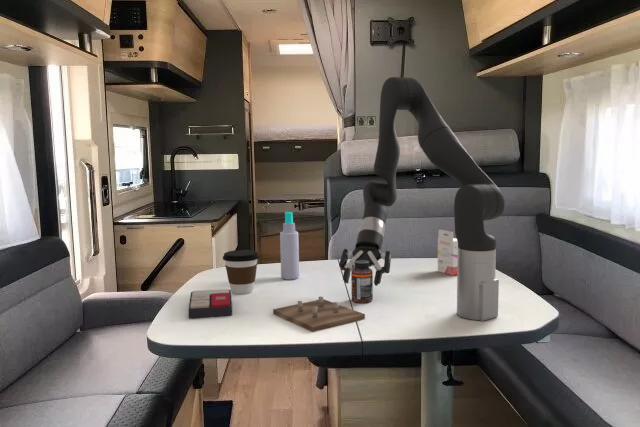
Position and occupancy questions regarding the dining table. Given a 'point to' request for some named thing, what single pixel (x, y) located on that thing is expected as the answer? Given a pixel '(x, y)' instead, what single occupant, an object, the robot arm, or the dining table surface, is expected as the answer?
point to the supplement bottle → (362, 282)
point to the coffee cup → (241, 270)
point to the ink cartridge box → (447, 253)
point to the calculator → (210, 303)
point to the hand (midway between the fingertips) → (360, 283)
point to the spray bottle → (289, 249)
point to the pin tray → (318, 314)
